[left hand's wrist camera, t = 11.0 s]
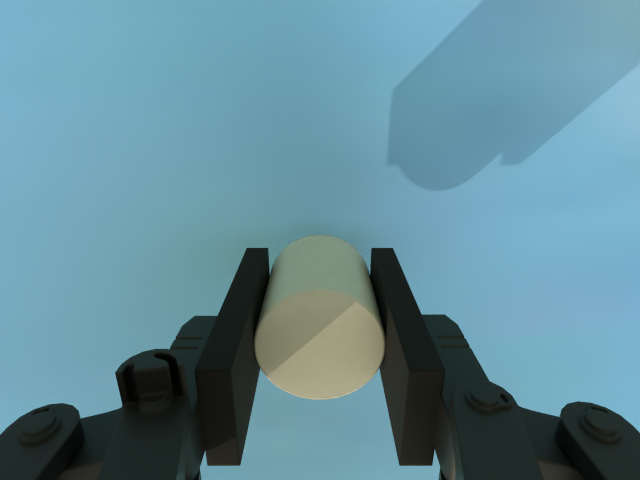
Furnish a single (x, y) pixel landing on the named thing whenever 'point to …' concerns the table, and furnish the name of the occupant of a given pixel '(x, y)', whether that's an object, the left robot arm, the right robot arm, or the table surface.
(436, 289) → the table surface
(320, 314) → the cylinder
